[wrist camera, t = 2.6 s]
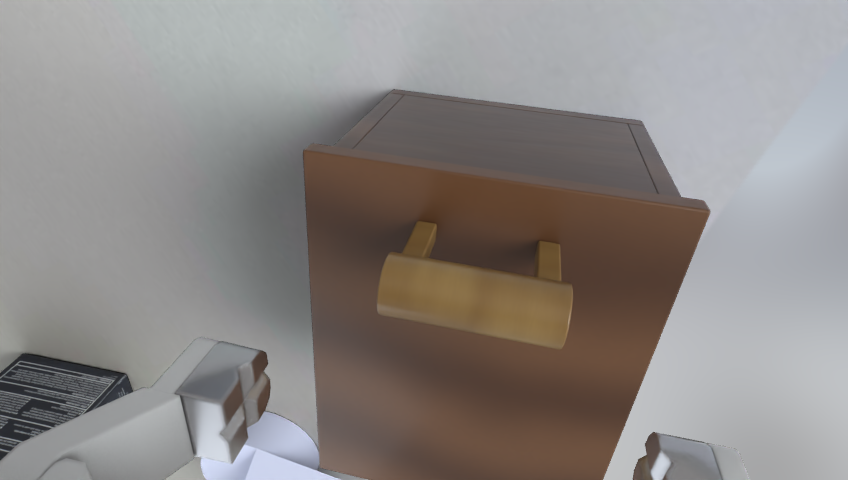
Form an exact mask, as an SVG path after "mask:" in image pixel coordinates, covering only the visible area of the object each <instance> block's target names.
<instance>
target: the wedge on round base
mask: <svg viewBox="0 0 848 480" xmlns="http://www.w3.org/2000/svg"><path fill="white" fill-rule="evenodd" d="M247 432H248V439H247V441H246V443H245V444H244V446H243V447H242V449H241V451H240V452H239V454H238V456H237V457H236V459H235V460H234V462H233V464H229V463H225V462H220V461H215V460H211V459H206V458H201V469H202V472H203V474H204V476H205V478H206V480H341V479H338V478H335V477H332V476H330V475H327V474H324V473H322V472H319V471H317V469H318V467H319V452H318V449H317V447H316V445H315V443H314V442H313V441H312V439H311V438H310V437H309V436H308V435H307V433H305V432H304V431H303V430H302V429H301V428H300V427H298V426H297V425H296V424H294V423H293V422H291V421H289V420H287V419H285V418H284V417H281V416H279V415H276V414H273V413H270V412H266V411H264V413H263V414H262V416H261V418H260V420H259V421H258V422H256V423H255V424H253V425H251V426H250V427H248V428H247Z"/></svg>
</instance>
